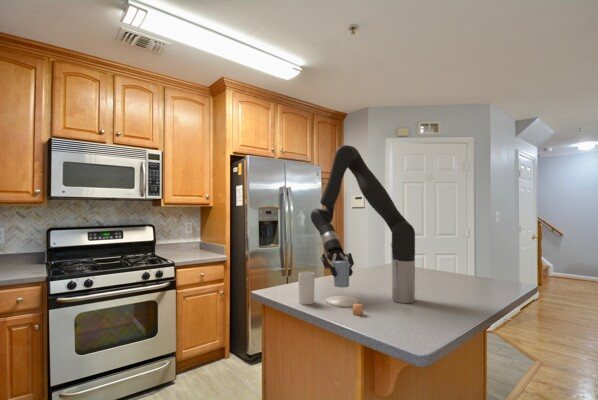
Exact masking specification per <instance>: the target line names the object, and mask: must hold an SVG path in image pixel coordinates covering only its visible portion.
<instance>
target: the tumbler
mask: <svg viewBox="0 0 598 400" xmlns="http://www.w3.org/2000/svg"><path fill="white" fill-rule="evenodd" d="M333 267H335V270H336V273H337V276H336V277H334V276H333V286H334V287H335V288H349V287H350V276H349V261H348V260H347V261H344V260H342V261H334V266H333Z"/></svg>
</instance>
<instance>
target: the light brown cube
mask: <svg viewBox="0 0 598 400" xmlns="http://www.w3.org/2000/svg"><path fill="white" fill-rule="evenodd" d="M352 315H353V316H355V317H362V316H363V315H364V305H363V304H362V303H358V304H353V306H352Z"/></svg>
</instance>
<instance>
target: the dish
mask: <svg viewBox="0 0 598 400" xmlns="http://www.w3.org/2000/svg"><path fill="white" fill-rule="evenodd" d="M325 303H326V304H327V305H329V306H333V307H337V308H350V307H353V304H359V300H358V299H357V298H356V297H353V296H349V295H348V296H346V295H332V296H329V297H327V298H326V299H325Z"/></svg>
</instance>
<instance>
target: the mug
mask: <svg viewBox="0 0 598 400" xmlns="http://www.w3.org/2000/svg"><path fill="white" fill-rule="evenodd" d="M297 277H298V280H297V281H298V303H299V304H300V305H305V306H306V305H312V304H314V303H315V277H316V274H315V272H313V271H300V272H298V276H297Z"/></svg>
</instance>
